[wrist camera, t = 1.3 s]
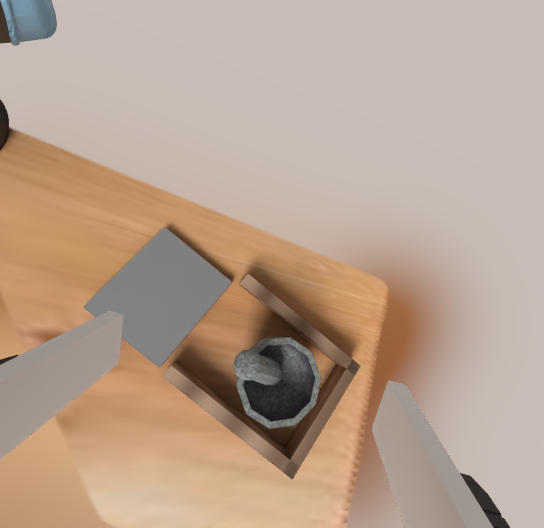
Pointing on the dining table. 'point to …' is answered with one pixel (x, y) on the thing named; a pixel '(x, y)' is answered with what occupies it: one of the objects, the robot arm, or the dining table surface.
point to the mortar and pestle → (277, 381)
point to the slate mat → (160, 295)
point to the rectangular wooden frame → (311, 423)
